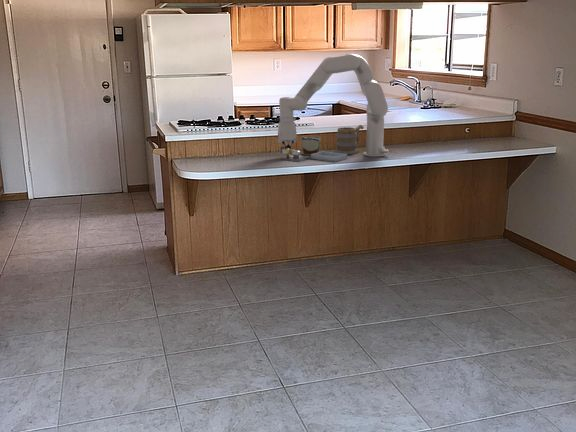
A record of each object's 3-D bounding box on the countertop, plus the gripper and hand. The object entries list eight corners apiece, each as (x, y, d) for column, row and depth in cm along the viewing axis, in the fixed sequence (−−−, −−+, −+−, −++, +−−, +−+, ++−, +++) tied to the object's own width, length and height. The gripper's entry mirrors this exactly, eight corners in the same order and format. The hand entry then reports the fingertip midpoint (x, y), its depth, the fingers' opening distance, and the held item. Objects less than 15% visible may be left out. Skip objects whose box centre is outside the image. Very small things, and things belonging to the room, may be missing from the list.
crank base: (311, 158, 335) (311, 147, 334) (299, 161, 326) (298, 150, 325) (293, 156, 343) (293, 145, 341) (280, 159, 334) (280, 148, 332)
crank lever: (301, 156, 335) (301, 148, 333) (298, 157, 331) (298, 149, 330) (282, 154, 341) (282, 146, 340) (278, 155, 338) (278, 147, 337)
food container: (324, 154, 349) (324, 136, 346) (319, 155, 344) (319, 138, 341) (306, 152, 355) (306, 135, 352) (300, 153, 350) (300, 136, 347)
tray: (347, 158, 334) (347, 154, 333) (335, 161, 325) (335, 157, 325) (322, 155, 344) (322, 151, 343) (310, 158, 335) (310, 154, 334)
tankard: (345, 155, 345) (345, 128, 341) (331, 152, 355) (331, 126, 351) (370, 151, 356) (371, 125, 352) (356, 148, 366) (356, 123, 362)
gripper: (298, 118, 340) (299, 150, 345) (272, 120, 337) (273, 152, 342) (301, 119, 333) (302, 152, 338) (275, 121, 330) (276, 154, 335)
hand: (288, 152), depth 340 cm, fingers closed
